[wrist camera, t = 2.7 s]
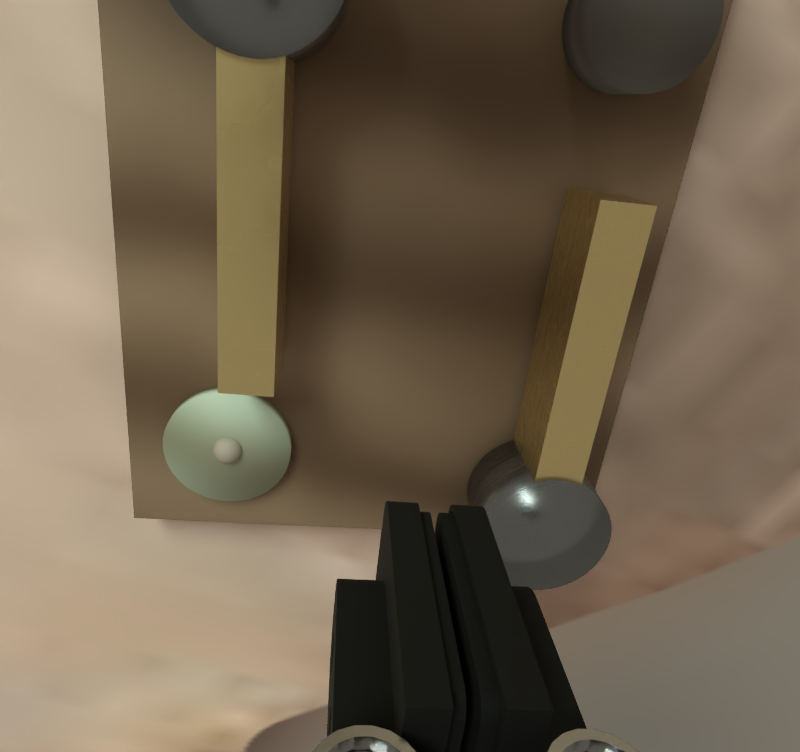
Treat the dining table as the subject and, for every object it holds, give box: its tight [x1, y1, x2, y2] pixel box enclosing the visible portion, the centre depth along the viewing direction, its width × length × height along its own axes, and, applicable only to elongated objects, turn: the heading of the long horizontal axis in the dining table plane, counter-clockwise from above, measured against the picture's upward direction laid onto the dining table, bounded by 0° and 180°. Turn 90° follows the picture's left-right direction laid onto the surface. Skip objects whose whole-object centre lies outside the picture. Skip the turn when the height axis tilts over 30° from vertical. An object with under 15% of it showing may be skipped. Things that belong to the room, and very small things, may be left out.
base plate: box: [98, 0, 732, 531], centre depth 20 cm, size 21×18×4 cm
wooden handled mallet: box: [467, 187, 657, 590], centre depth 20 cm, size 13×4×3 cm, turn 174°
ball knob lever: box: [168, 0, 349, 397], centre depth 17 cm, size 13×4×3 cm, turn 174°
